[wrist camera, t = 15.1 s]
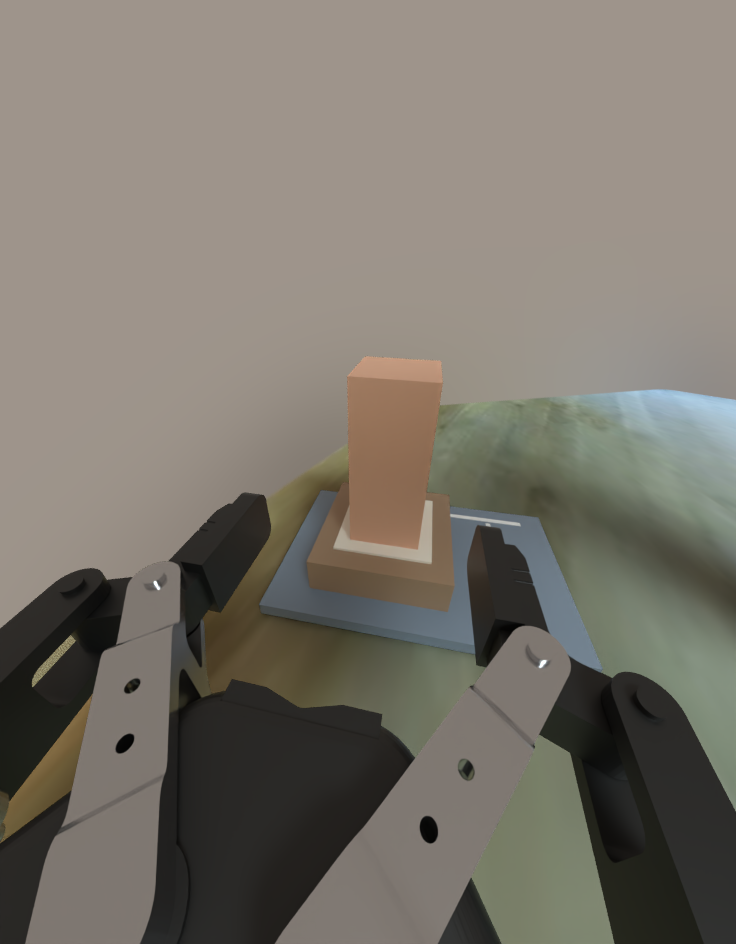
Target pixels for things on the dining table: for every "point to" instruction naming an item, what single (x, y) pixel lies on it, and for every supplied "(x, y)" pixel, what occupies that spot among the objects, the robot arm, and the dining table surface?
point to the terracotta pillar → (391, 447)
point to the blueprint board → (423, 620)
